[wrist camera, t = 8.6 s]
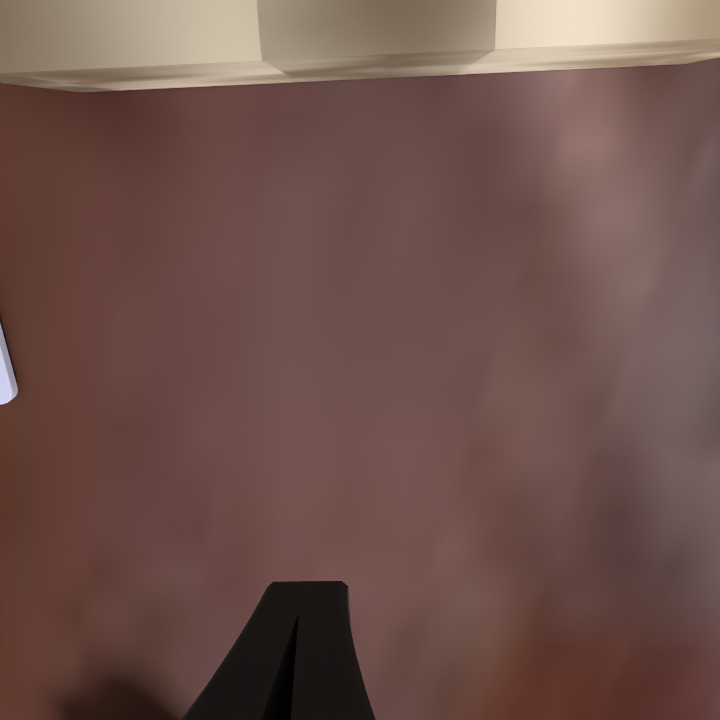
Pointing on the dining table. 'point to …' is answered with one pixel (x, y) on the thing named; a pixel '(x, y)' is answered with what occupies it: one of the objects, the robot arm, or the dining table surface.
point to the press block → (336, 39)
